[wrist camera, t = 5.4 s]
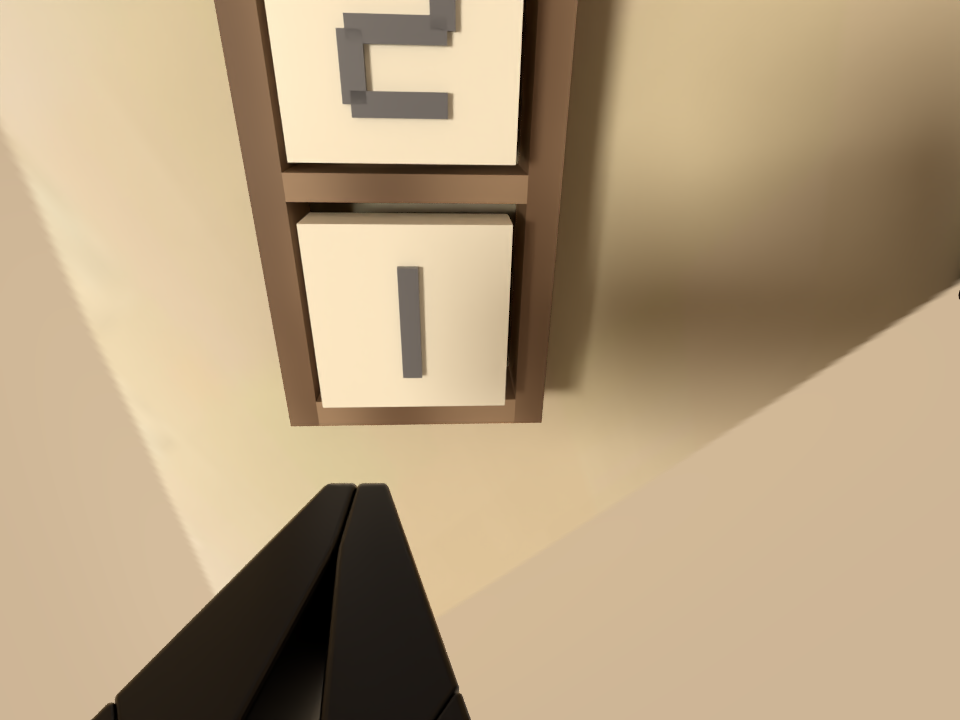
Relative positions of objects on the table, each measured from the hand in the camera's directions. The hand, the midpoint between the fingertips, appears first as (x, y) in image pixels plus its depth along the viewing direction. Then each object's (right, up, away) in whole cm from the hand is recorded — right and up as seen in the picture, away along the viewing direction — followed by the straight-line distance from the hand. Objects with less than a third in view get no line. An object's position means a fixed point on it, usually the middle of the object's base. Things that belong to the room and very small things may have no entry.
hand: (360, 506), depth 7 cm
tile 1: (0, +4, +10) cm, 11 cm away
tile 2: (0, +11, +6) cm, 12 cm away
